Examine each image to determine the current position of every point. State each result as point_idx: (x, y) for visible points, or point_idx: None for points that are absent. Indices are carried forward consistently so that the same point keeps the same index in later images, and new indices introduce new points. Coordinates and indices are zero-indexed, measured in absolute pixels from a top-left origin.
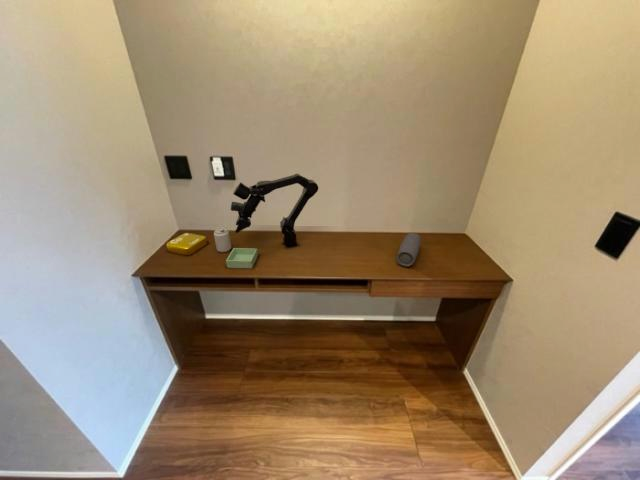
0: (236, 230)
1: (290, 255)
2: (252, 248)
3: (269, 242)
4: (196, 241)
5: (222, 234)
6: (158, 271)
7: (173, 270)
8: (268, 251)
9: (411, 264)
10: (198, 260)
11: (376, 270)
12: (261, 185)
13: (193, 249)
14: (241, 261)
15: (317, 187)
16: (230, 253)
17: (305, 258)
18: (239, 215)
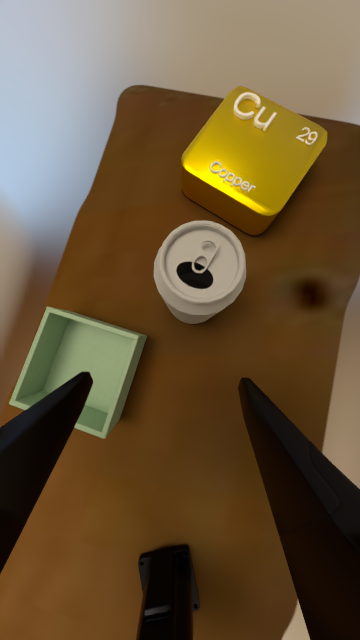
0: (59, 390)
1: (79, 553)
2: (110, 417)
3: (209, 480)
4: (231, 184)
5: (159, 276)
6: (113, 130)
7: (105, 165)
8: (135, 464)
9: None
10: (142, 223)
11: None
12: None
13: (197, 192)
14: (25, 365)
15: None
16: (96, 323)
17: (38, 614)
18: (340, 542)
